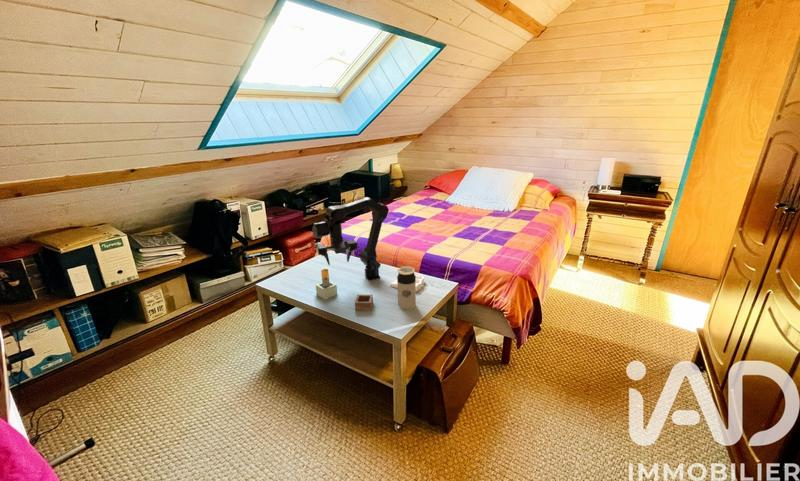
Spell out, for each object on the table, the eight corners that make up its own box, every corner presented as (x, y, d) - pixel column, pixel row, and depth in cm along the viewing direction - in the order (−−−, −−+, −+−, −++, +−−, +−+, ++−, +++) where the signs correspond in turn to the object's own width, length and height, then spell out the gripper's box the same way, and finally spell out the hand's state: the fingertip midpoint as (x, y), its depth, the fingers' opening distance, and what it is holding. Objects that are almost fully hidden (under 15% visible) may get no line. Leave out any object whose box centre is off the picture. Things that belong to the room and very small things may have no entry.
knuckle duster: (406, 276, 190) (430, 284, 182) (385, 291, 177) (410, 299, 169) (406, 271, 189) (430, 278, 181) (385, 285, 176) (410, 293, 167)
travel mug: (400, 300, 167) (400, 265, 161) (417, 302, 165) (417, 267, 159) (395, 309, 160) (394, 273, 154) (413, 312, 158) (412, 275, 152)
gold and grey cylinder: (331, 293, 173) (329, 269, 168) (328, 296, 170) (325, 272, 166) (326, 291, 174) (323, 268, 170) (322, 295, 172) (319, 271, 167)
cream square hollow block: (329, 290, 177) (328, 279, 175) (337, 295, 173) (336, 284, 170) (316, 295, 173) (315, 284, 171) (324, 301, 168) (323, 289, 166)
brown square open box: (357, 304, 165) (357, 294, 163) (373, 304, 165) (372, 294, 163) (355, 312, 159) (354, 302, 157) (371, 312, 158) (370, 302, 156)
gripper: (319, 242, 160) (322, 273, 166) (359, 235, 166) (361, 266, 172) (314, 234, 170) (318, 264, 175) (353, 228, 176) (355, 257, 182)
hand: (338, 263), depth 176 cm, fingers open, 9 cm apart
